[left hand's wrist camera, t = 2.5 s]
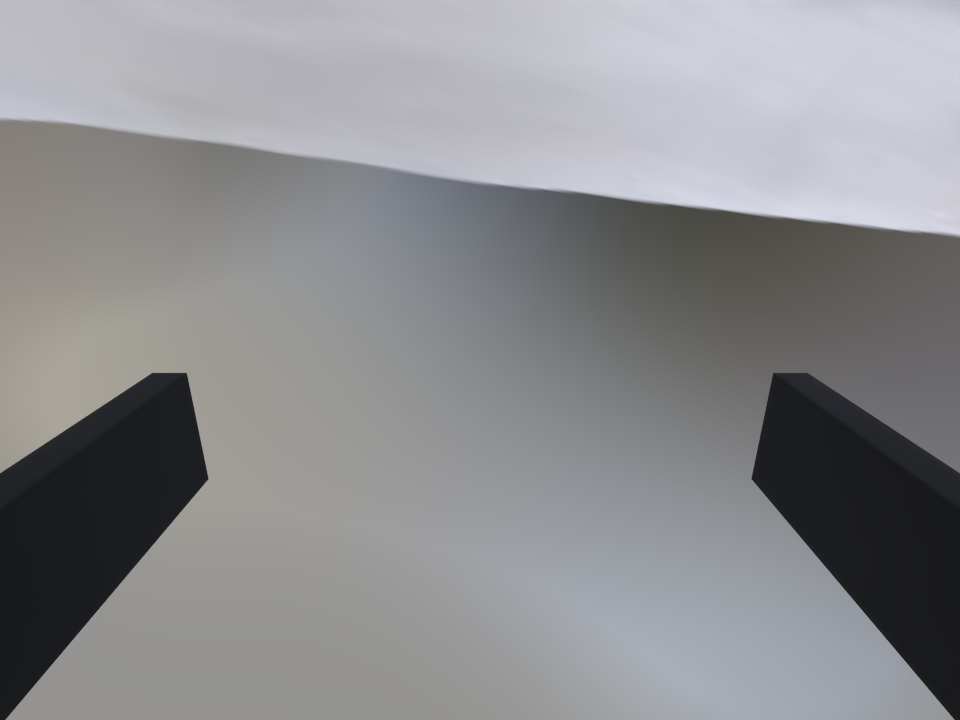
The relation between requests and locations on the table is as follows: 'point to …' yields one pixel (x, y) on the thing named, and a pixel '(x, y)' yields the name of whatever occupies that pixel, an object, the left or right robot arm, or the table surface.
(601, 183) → the table surface
